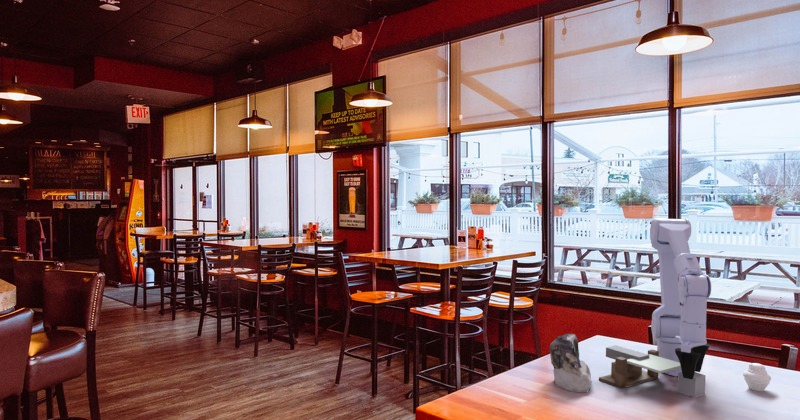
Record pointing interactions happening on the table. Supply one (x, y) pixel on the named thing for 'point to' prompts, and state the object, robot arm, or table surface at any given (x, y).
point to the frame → (628, 373)
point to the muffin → (756, 377)
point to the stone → (569, 364)
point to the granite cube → (692, 385)
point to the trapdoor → (642, 359)
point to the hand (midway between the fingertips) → (691, 374)
